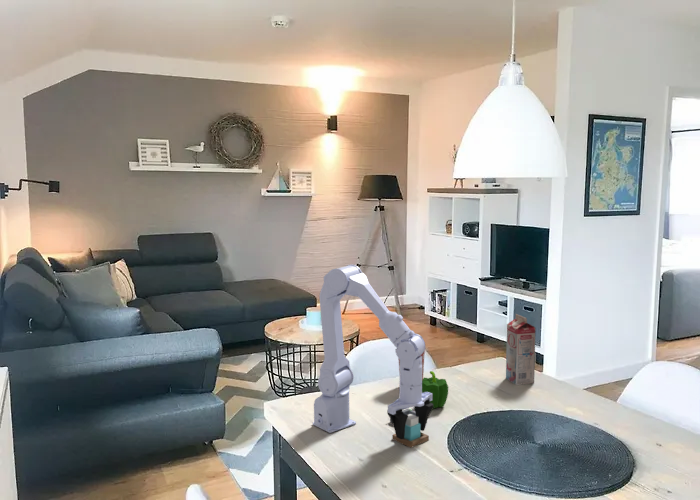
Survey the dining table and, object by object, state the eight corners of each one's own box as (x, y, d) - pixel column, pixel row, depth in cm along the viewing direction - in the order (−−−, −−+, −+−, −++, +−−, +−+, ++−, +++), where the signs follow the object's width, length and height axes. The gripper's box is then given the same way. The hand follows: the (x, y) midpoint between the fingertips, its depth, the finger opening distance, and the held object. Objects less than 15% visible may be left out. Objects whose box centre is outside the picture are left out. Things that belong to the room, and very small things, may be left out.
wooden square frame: (410, 447, 148) (410, 443, 148) (392, 439, 153) (392, 434, 153) (428, 440, 152) (428, 435, 152) (410, 432, 157) (410, 427, 157)
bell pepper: (448, 412, 171) (448, 378, 169) (419, 410, 172) (419, 377, 171) (448, 401, 179) (448, 369, 178) (420, 400, 180) (421, 368, 179)
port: (408, 430, 158) (408, 421, 158) (390, 422, 164) (390, 414, 164) (427, 422, 163) (427, 414, 163) (408, 415, 168) (408, 407, 168)
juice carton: (516, 384, 193) (517, 318, 190) (505, 378, 199) (507, 314, 197) (534, 383, 194) (535, 317, 192) (523, 376, 201) (525, 313, 198)
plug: (410, 444, 150) (410, 420, 149) (400, 439, 153) (400, 416, 152) (420, 440, 152) (420, 417, 152) (410, 435, 155) (410, 412, 154)
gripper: (401, 393, 143) (401, 447, 145) (441, 380, 152) (441, 430, 154) (381, 386, 148) (381, 437, 150) (421, 373, 158) (421, 422, 159)
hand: (410, 433), depth 152 cm, fingers open, 7 cm apart
